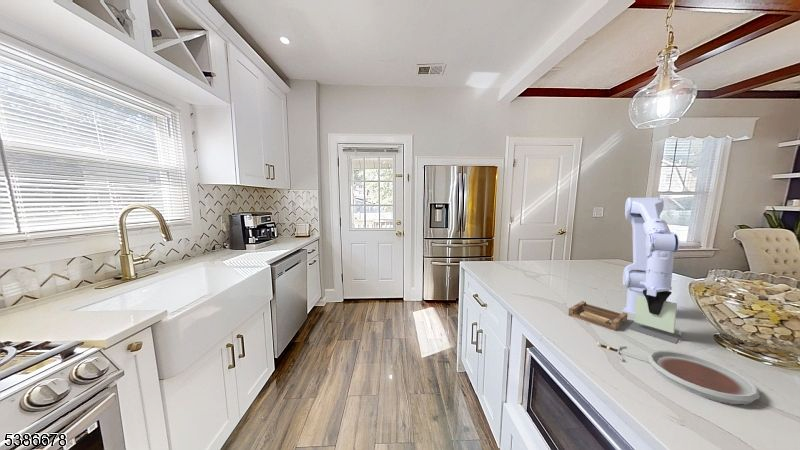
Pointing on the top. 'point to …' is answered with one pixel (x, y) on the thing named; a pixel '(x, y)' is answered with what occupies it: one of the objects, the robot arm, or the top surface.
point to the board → (657, 321)
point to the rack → (614, 317)
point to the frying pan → (698, 376)
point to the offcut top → (595, 317)
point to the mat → (655, 332)
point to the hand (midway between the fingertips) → (655, 312)
